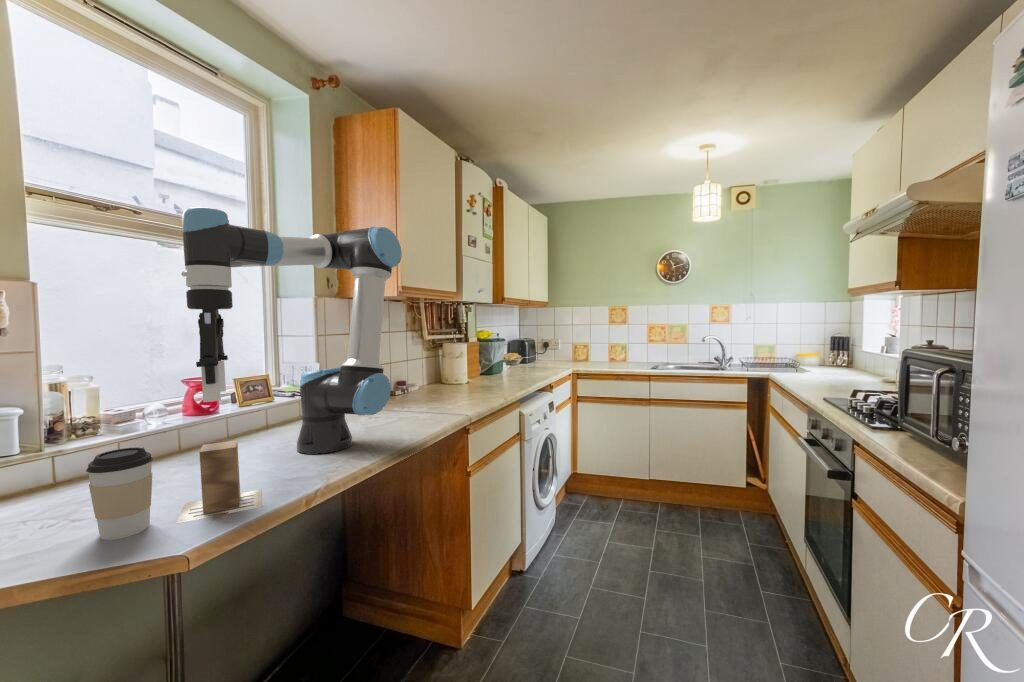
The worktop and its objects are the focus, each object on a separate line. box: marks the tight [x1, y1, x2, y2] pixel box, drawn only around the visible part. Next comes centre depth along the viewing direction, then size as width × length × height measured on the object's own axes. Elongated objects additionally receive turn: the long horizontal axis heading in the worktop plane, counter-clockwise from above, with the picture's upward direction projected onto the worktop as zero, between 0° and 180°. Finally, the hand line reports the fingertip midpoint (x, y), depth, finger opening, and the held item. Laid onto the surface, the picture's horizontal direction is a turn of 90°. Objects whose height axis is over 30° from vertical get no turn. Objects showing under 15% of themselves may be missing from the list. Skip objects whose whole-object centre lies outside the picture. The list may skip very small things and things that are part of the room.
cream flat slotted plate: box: [175, 488, 263, 524], centre depth 92 cm, size 17×15×1 cm
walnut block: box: [199, 440, 241, 513], centre depth 92 cm, size 6×6×12 cm
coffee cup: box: [85, 446, 154, 541], centre depth 81 cm, size 9×9×15 cm
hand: (215, 396), depth 91 cm, fingers open, 13 cm apart
